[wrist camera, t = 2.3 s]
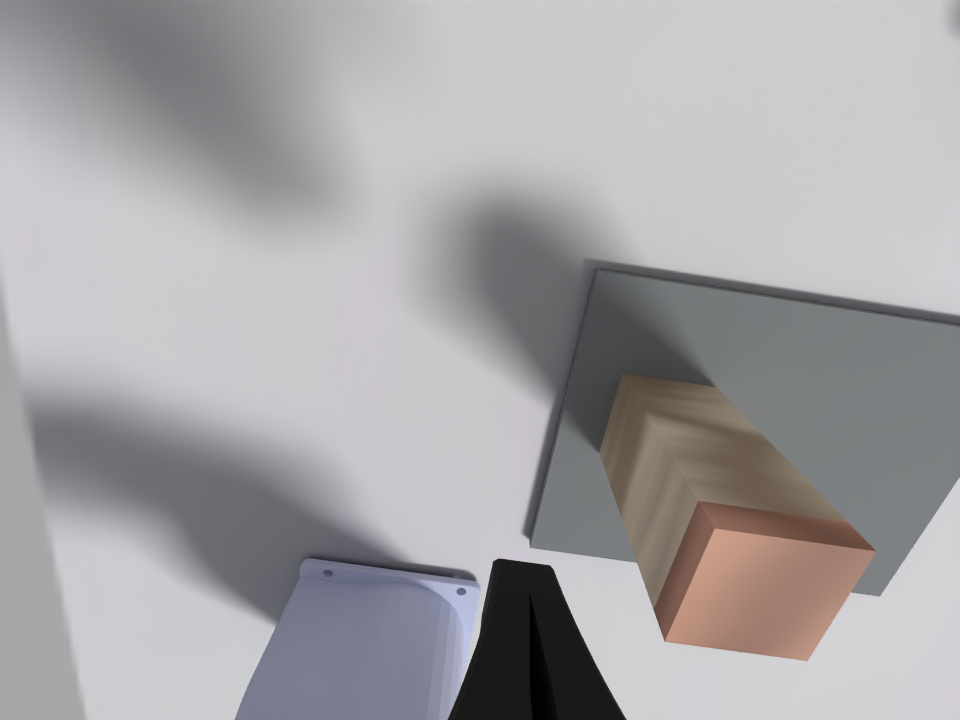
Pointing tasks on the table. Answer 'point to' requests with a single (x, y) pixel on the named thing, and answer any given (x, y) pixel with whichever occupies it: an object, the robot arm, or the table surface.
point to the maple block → (724, 523)
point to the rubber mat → (767, 405)
